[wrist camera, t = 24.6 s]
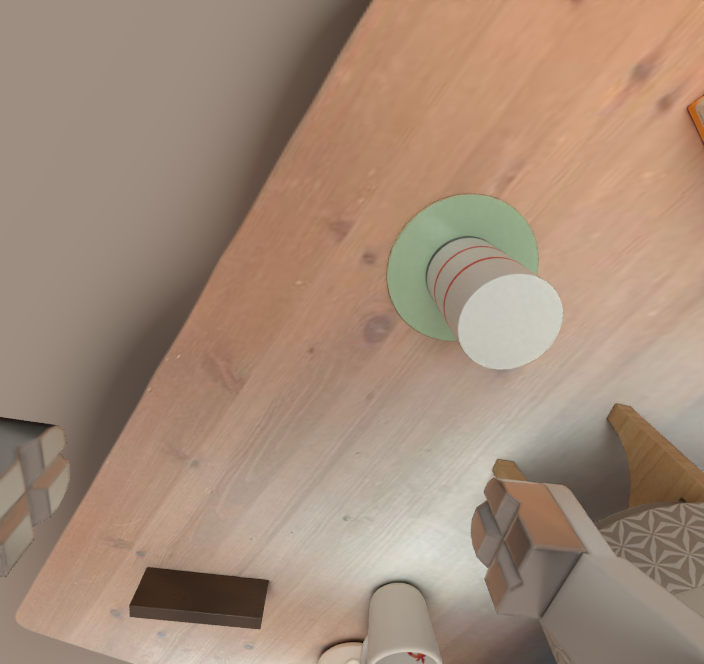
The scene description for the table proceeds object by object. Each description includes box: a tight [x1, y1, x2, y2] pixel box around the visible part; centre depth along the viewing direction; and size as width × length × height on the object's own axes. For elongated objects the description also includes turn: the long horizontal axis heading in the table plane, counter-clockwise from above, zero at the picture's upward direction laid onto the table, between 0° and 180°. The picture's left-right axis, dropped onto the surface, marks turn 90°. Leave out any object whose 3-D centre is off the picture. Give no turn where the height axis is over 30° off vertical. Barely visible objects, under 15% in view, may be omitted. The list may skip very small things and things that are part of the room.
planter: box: [493, 404, 704, 664], centre depth 31 cm, size 19×19×26 cm
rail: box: [129, 568, 269, 629], centre depth 46 cm, size 14×2×4 cm, turn 79°
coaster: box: [387, 194, 538, 341], centre depth 33 cm, size 12×12×1 cm
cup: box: [360, 583, 442, 664], centre depth 47 cm, size 11×8×8 cm
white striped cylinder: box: [426, 236, 563, 370], centre depth 28 cm, size 6×11×11 cm
